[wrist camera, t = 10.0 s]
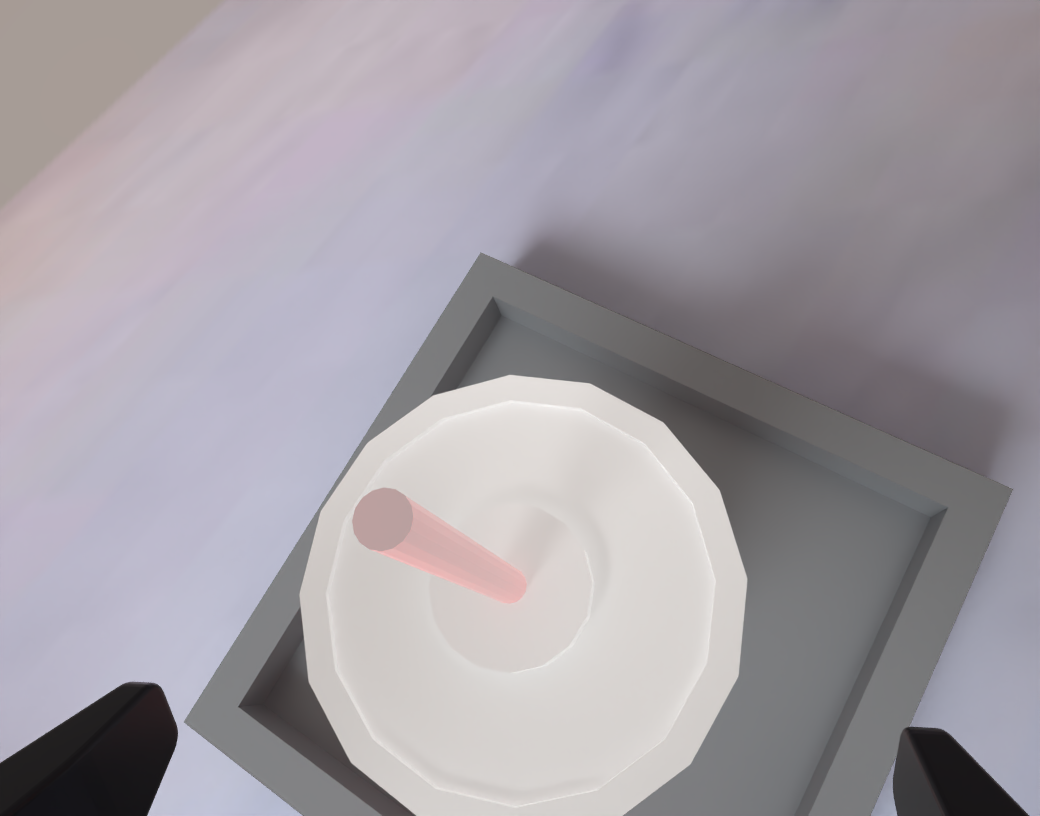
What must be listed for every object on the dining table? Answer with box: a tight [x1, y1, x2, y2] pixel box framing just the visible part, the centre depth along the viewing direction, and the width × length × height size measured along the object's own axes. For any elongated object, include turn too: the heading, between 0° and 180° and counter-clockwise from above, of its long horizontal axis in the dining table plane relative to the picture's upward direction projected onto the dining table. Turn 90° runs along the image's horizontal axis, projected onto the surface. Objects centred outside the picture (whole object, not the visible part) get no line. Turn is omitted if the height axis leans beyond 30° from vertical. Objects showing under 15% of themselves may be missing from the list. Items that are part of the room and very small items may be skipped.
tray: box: [184, 253, 1013, 816], centre depth 19 cm, size 14×14×2 cm
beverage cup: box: [299, 375, 747, 816], centre depth 12 cm, size 6×6×14 cm
